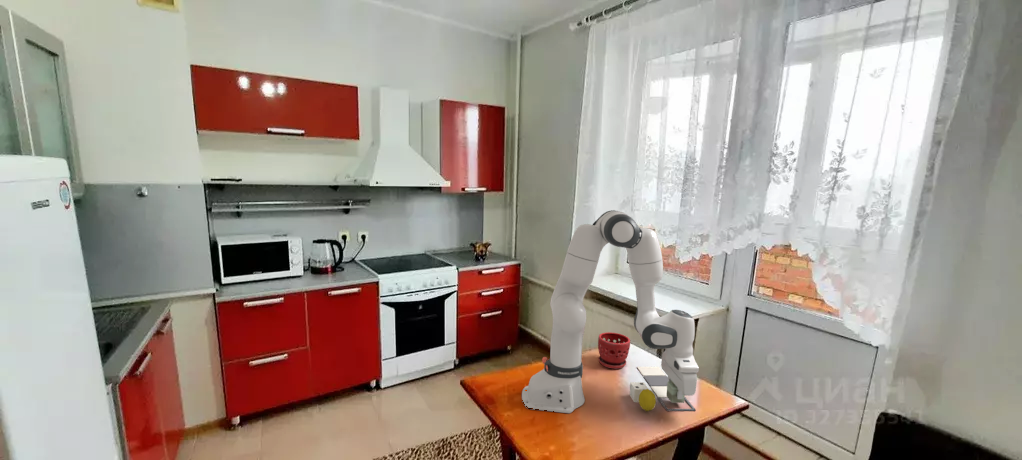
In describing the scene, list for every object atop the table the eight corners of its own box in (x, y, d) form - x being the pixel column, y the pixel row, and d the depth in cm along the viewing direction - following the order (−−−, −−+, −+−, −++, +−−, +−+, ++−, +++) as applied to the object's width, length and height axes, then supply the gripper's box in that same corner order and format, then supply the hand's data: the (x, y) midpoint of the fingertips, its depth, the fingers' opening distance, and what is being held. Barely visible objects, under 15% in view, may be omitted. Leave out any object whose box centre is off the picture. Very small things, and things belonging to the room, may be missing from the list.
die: (633, 402, 145) (634, 388, 144) (629, 394, 150) (630, 381, 149) (647, 402, 145) (648, 388, 144) (643, 394, 150) (644, 381, 149)
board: (666, 411, 140) (666, 409, 140) (636, 367, 171) (636, 366, 171) (695, 410, 140) (695, 409, 140) (659, 367, 171) (659, 366, 171)
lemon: (656, 416, 136) (657, 394, 135) (638, 414, 137) (640, 392, 136) (653, 407, 142) (655, 386, 141) (637, 405, 143) (638, 384, 142)
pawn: (671, 402, 142) (673, 378, 141) (666, 395, 146) (668, 372, 145) (684, 402, 142) (686, 379, 141) (678, 396, 146) (680, 372, 145)
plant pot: (621, 374, 165) (622, 346, 163) (591, 364, 173) (592, 337, 172) (633, 363, 175) (635, 336, 174) (605, 354, 183) (606, 329, 182)
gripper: (658, 344, 152) (655, 378, 154) (682, 370, 132) (678, 409, 134) (674, 344, 152) (672, 379, 154) (701, 370, 132) (697, 410, 134)
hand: (675, 393), depth 144 cm, fingers closed on pawn, 4 cm apart
